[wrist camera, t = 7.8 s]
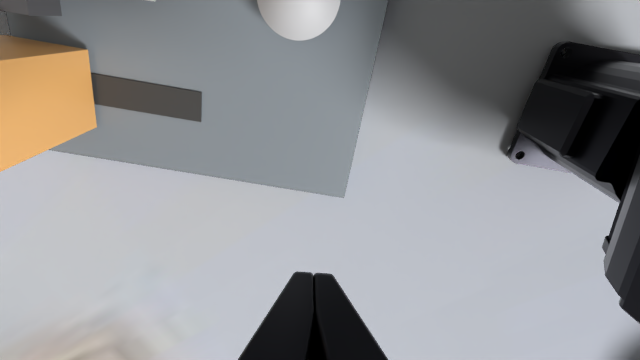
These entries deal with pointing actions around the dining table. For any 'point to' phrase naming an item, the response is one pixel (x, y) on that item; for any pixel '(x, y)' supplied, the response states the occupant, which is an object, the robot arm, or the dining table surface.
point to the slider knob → (42, 97)
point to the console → (220, 83)
